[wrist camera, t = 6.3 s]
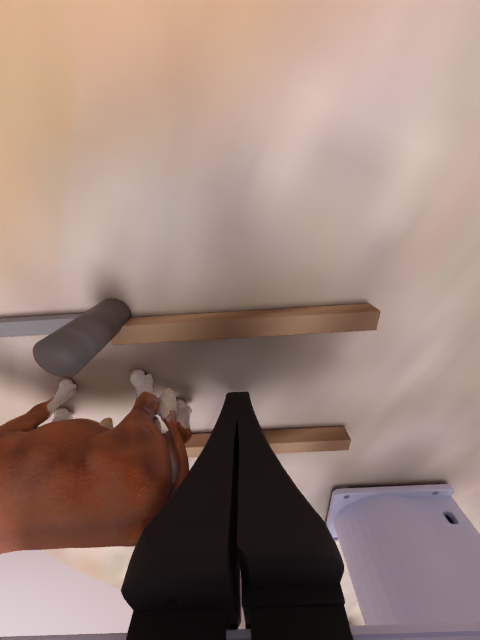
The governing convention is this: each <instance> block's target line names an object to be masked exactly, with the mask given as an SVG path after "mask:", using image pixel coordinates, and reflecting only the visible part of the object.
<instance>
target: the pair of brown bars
mask: <svg viewBox="0 0 480 640" xmlns="http://www.w3.org/2000/svg"><path fill="white" fill-rule="evenodd" d="M379 315H380V310H378V309H377V308H375V307H374V306H372V305H371V304H369V303H368V304H351V305H334V306H317V307H301V308H284V309H267V310H250V311H233V312H217V313H200V314H183V315H166V316H149V317H132V318H131V312H130V310H129V308H128V306H127V305H126V304H125V303H123V302H122V301H120V300H117V299H113V298H110V299H106V300H104V301H102V302H101V303H99V304H98V305H96V306H94V307H93V308H91V309H90V310H88V311H86V312H85V313H83V314H82V315H80V316H79V317H77V318H75V319H74V320H72V321H71V322H69V323H67V324H66V325H64V326H63V327H61V328H59V329H58V330H56V331H55V332H53V333H52V334H50V335H48V336H47V337H45V338H44V339H42V340H40V341H39V342H37V343H36V344H35V346H34V348H33V356H34V358H35V360H36V362H37V363H38V365H39V366H40V367H41V368H43V369H44V370H45V371H47V372H49V373H51V374H53V375H56V376H61V377H69V376H73V375H75V374H77V373H78V372H79V371H80V370H81V369H82V368H83V367H84V366H85V365H86V364H87V363H88V362H89V361H90V360H91V359H92V358H93V357H94V356H95V355H96V354H97V353H98V352H100V351H101V350H102V349H103V348H104V347H105V346H106V345H107V344H108V343H109V342H110V341H112V344H113V345H122V344H139V343H157V342H174V341H192V340H209V339H227V338H244V337H262V336H279V335H297V334H314V333H332V332H349V331H367V330H376V328H377V324H378V320H379ZM262 431H263V433H264V435H265V437H266V439H267V441H268V443H269V445H270V447H271V448H272V450H273V452H274V453H294V452H315V451H336V450H349V446H350V441H351V439H350V437H349V435H348V433H347V431H346V429H345V427H344V426H341V427H321V428H301V429H280V430H262ZM210 435H211V433H199V434H192V437H191V439H190V440H189V441H188V442H187V443H186V444H185V448H186V451H187V456H188V457H199V455H200V453H201V452H202V450H203V448H204V447H205V445H206V443H207V441H208V439H209V437H210ZM163 436H164V435H163Z"/></svg>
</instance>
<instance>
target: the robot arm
mask: <svg viewBox="0 0 480 640" xmlns="http://www.w3.org/2000/svg"><path fill="white" fill-rule="evenodd" d="M453 493H454V490H453V488H452V487H451V486H450V485H449V484H432V485H409V486H387V487H364V488H341V489H335V490H334V491H333V493H332V498H331V502H330V507H329V512H328V517H327V522H326V523H325V522H324V520H323V519H322V518H321V517H320V516H319V514H318V513H317V512H316V511H315V510H314V508H313V507H312V506H311V505H310V503H309V502H308V501H307V500H306V498H305V497H304V496H303V494H302V493H301V492H300V491H299V489H298V488H297V487H296V485H295V484H294V482H293V481H292V479H291V478H290V477H289V475H288V474H287V472H286V471H285V469H284V468H283V466H282V465H281V463H280V462H279V460H278V458H277V457H276V455H275V453H274V452H273V450H272V448H271V447H270V445H269V443H268V441H267V439H266V437H265V435H264V433H263V431H262V429H261V427H260V425H259V422H258V420H257V418H256V415H255V413H254V410H253V407H252V404H251V400H250V396H249V393H248V392H229V393H227V394H226V398H225V402H224V405H223V408H222V410H221V413H220V415H219V418H218V420H217V422H216V425H215V427H214V429H213V431H212V433H211V435H210V437H209V439H208V441H207V443H206V445H205V447H204V448H203V450H202V452H201V453H200V455H199V457H198V458H197V460H196V462H195V463H194V465H193V466H192V468H191V469H190V471H189V472H188V474H187V475H186V477H185V478H184V480H183V481H182V482H181V484H180V485H179V486H178V488H177V489H176V490H175V492H174V493H173V494H172V496H171V497H170V498H169V500H168V501H167V502H166V503H165V505H164V506H163V507H162V508H161V510H160V511H159V512H158V513H157V514H156V515H155V517H154V518H153V519H152V520H151V521H150V522H149V524H148V525H147V526H146V527H145V528H144V530H143V531H142V533H141V535H140V538H139V540H138V542H137V544H136V547H135V549H134V552H133V554H132V556H131V559H130V562H129V565H128V569H127V572H126V575H125V579H124V582H123V585H122V589H121V592H122V595H123V597H124V599H125V600H126V601H127V603H128V604H129V605H130V607H131V608H132V609H133V610H134V611H133V615H132V618H131V622H130V626H129V630H128V633H111V634H79V635H51V636H50V635H48V636H16V637H0V640H480V534H479V532H478V531H477V530H476V528H475V527H474V526H473V525H472V523H471V522H470V521H469V519H468V518H467V517H466V515H465V514H464V513H463V511H462V510H461V509H460V507H459V506H458V505H457V503H456V502H455V501H454V500H453V498H452V497H451V496H452V494H453ZM335 541H339V542H340V545H341V549H342V552H343V555H344V558H345V562H346V565H347V568H348V571H349V574H350V578H351V581H352V584H353V587H354V591H355V594H356V597H357V600H358V603H359V607H360V610H361V613H362V616H363V619H364V623H365V625H364V626H349V622H348V619H347V615H346V611H345V608H344V604H345V600H344V596H343V592H342V589H341V585H340V581H341V578H342V575H343V572H344V564H343V561H342V558H341V555H340V553H339V550H338V548H337V545H336V543H335ZM240 570H241V582H240ZM241 605H242V608H243V612H244V619H245V629H238V627H239V626H240V624H241Z"/></svg>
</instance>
